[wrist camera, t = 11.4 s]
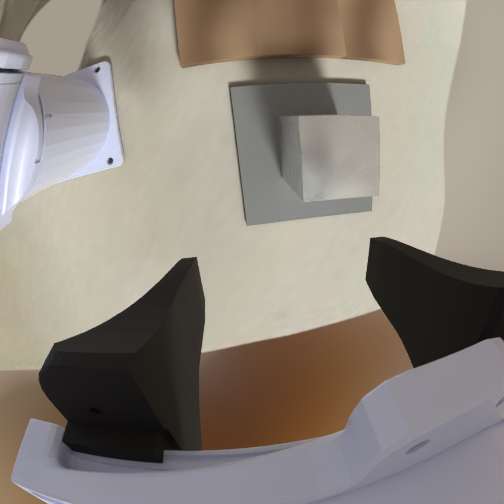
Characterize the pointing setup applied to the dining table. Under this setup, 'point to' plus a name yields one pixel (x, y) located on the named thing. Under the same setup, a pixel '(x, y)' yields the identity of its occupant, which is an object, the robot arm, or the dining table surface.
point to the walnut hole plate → (287, 30)
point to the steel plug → (330, 155)
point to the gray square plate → (267, 145)
